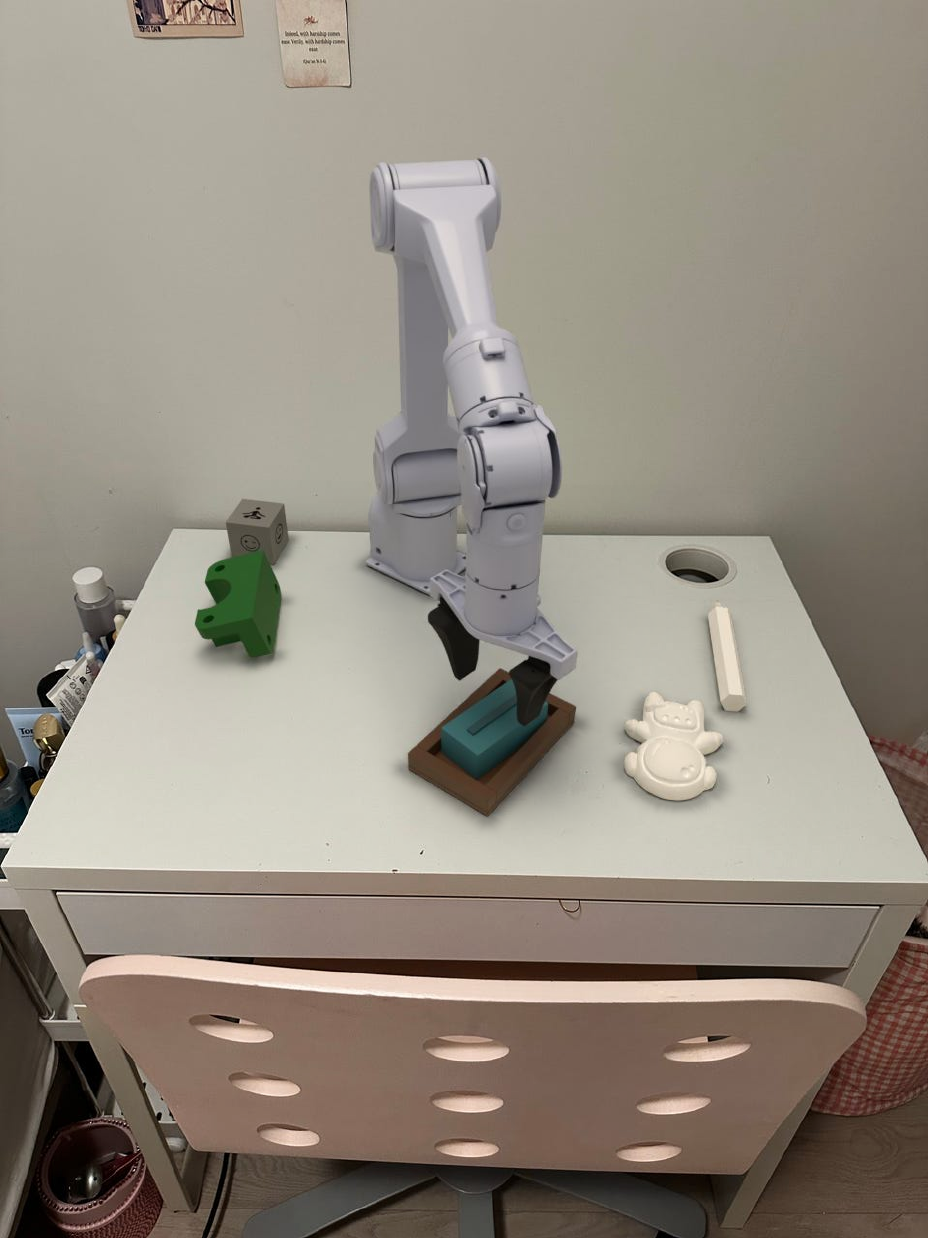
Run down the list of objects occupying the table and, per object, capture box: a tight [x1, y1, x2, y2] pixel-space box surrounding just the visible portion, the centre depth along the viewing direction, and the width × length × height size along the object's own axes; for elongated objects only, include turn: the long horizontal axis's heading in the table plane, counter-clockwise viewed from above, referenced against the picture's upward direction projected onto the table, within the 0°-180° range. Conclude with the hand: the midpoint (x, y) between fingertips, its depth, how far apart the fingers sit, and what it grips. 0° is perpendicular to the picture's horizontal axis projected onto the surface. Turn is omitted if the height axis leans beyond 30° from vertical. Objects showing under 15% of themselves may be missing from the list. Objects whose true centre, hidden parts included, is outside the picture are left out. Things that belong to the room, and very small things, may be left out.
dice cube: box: [225, 498, 290, 565], centre depth 106 cm, size 5×5×5 cm
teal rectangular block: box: [441, 679, 548, 780], centre depth 83 cm, size 9×4×4 cm, turn 135°
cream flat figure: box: [623, 691, 724, 801], centre depth 83 cm, size 9×12×3 cm
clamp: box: [194, 550, 282, 659], centre depth 94 cm, size 12×6×9 cm, turn 178°
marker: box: [707, 599, 748, 712], centre depth 93 cm, size 3×2×16 cm
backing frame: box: [407, 668, 577, 817], centre depth 83 cm, size 14×9×2 cm, turn 143°
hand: (496, 695), depth 80 cm, fingers open, 7 cm apart
